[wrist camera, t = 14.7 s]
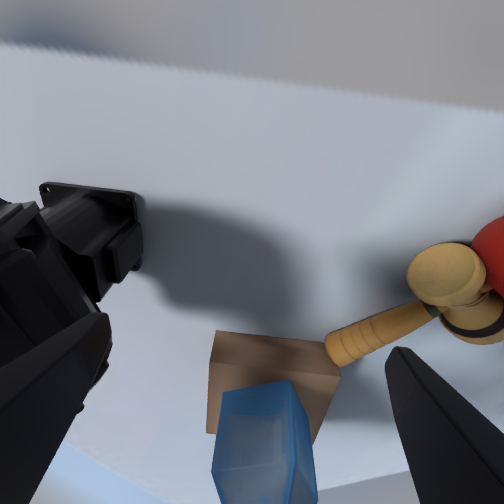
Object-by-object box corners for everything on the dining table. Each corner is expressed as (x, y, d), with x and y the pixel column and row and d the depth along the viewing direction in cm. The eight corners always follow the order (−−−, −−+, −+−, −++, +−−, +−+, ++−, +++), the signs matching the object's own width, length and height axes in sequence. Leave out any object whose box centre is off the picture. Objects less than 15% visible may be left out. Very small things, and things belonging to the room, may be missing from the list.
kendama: (362, 350, 30) (585, 255, 20) (365, 407, 24) (669, 314, 15) (311, 298, 28) (524, 172, 19) (302, 347, 23) (592, 205, 14)
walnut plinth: (211, 400, 33) (205, 433, 30) (216, 330, 27) (209, 362, 24) (308, 411, 33) (312, 444, 30) (333, 344, 27) (340, 376, 24)
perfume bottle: (248, 428, 29) (236, 620, 19) (222, 392, 26) (193, 594, 16) (308, 418, 28) (332, 620, 18) (289, 378, 25) (303, 591, 15)
